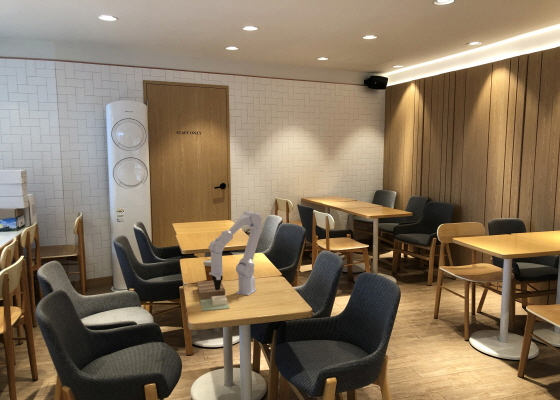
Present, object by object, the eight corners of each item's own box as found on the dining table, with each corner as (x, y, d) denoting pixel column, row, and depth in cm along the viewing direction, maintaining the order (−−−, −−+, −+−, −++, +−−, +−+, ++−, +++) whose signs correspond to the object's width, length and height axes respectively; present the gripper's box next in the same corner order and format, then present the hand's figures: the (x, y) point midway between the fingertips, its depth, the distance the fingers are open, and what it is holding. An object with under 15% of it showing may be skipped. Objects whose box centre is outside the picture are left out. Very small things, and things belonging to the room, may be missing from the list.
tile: (212, 301, 211) (213, 305, 212) (227, 299, 213) (227, 304, 213) (211, 296, 218) (211, 301, 218) (225, 295, 220) (225, 299, 220)
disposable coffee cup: (201, 282, 253) (200, 262, 252) (208, 277, 262) (207, 258, 261) (215, 283, 250) (215, 263, 249) (222, 278, 259) (222, 259, 258)
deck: (197, 288, 240) (197, 281, 240) (220, 286, 243) (220, 280, 243) (200, 300, 221) (199, 292, 221) (225, 297, 225) (225, 290, 224)
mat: (200, 299, 222) (200, 299, 222) (225, 297, 225) (225, 296, 225) (202, 311, 205) (202, 310, 205) (229, 308, 209) (229, 307, 209)
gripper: (207, 261, 227) (208, 286, 229) (210, 268, 213) (211, 294, 215) (221, 260, 229) (221, 285, 230) (224, 267, 215) (225, 293, 216)
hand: (217, 289), depth 223 cm, fingers closed
